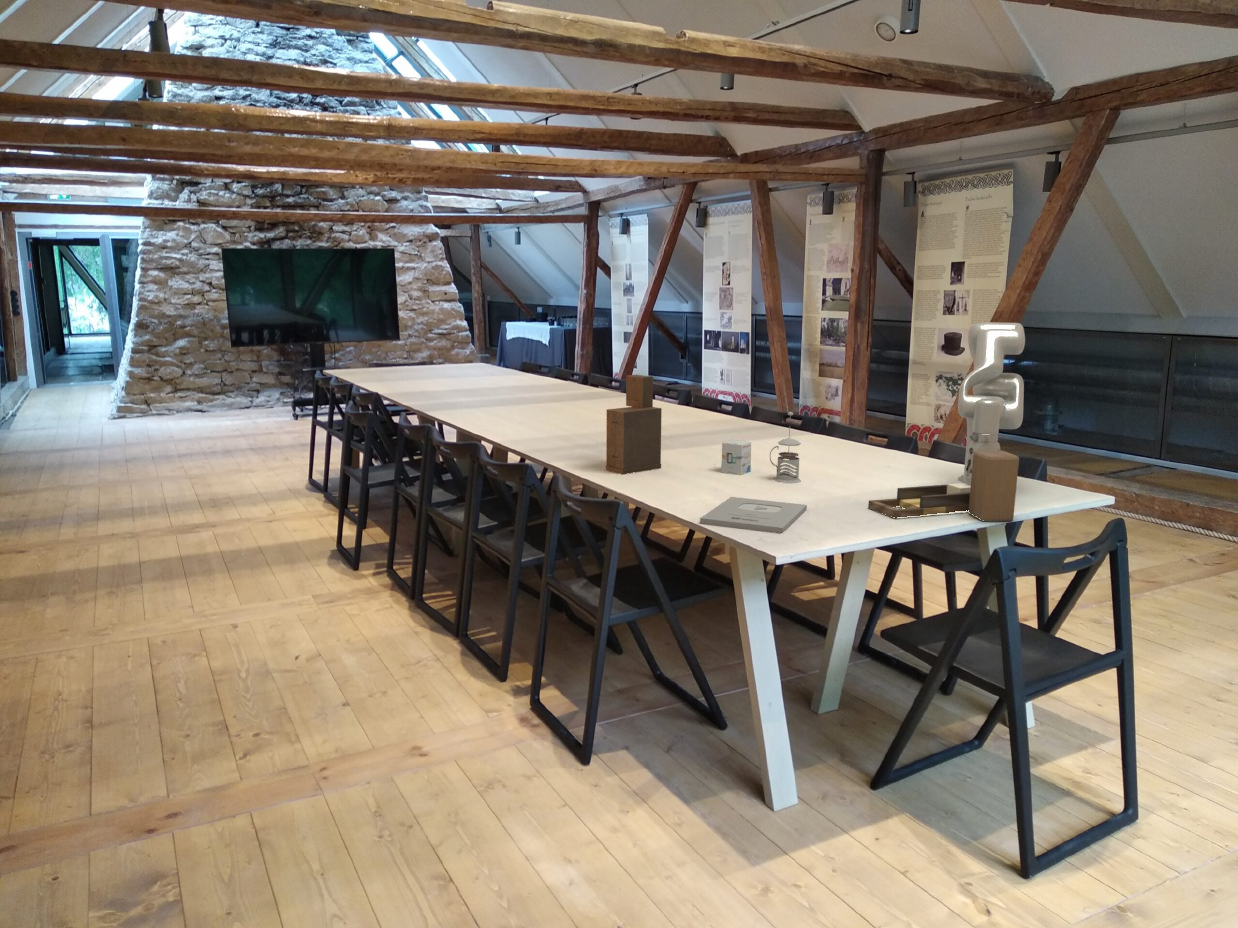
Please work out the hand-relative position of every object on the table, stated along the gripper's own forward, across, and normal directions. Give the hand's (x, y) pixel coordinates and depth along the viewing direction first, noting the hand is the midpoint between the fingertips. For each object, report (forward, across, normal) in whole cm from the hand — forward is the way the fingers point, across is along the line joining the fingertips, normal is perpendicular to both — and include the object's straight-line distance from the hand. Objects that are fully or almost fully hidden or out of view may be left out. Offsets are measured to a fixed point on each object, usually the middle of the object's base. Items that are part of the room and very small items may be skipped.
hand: (979, 494), depth 275 cm
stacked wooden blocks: (+4, -87, +88) cm, 123 cm away
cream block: (+1, -7, 0) cm, 7 cm away
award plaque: (+4, -75, +8) cm, 76 cm away
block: (+4, -7, -14) cm, 16 cm away
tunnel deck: (+4, -19, 0) cm, 19 cm away
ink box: (+4, -52, +70) cm, 87 cm away
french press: (+4, -41, +52) cm, 67 cm away
